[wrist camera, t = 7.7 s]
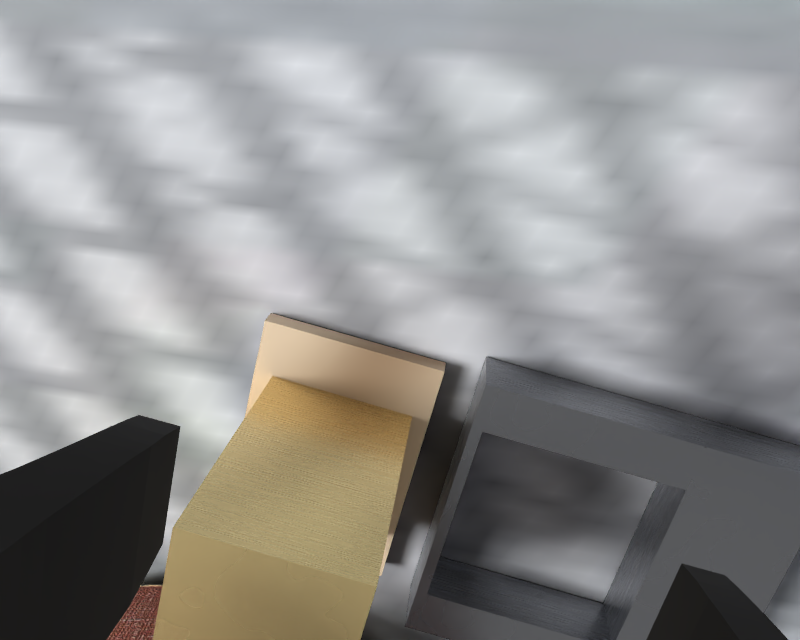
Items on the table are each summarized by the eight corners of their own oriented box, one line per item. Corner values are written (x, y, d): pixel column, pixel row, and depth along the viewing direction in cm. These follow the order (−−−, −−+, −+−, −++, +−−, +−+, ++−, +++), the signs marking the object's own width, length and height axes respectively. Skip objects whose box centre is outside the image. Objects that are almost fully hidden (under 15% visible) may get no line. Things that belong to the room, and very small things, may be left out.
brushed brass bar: (412, 416, 21) (377, 586, 14) (377, 532, 22) (329, 736, 16) (272, 375, 21) (172, 527, 14) (246, 494, 22) (144, 682, 16)
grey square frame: (806, 447, 20) (835, 483, 19) (691, 665, 23) (707, 714, 22) (485, 356, 21) (485, 384, 19) (410, 584, 23) (404, 626, 22)
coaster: (445, 362, 21) (444, 371, 20) (383, 563, 23) (381, 575, 23) (271, 313, 21) (265, 320, 20) (228, 517, 23) (221, 529, 23)
